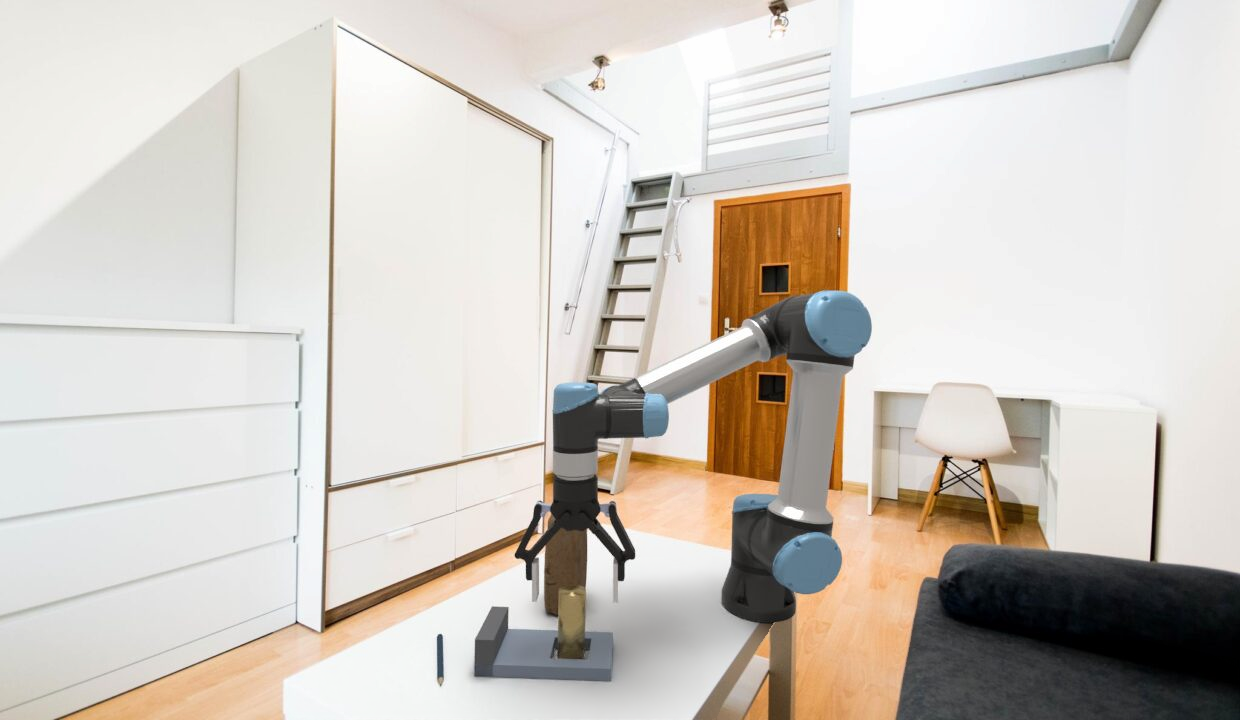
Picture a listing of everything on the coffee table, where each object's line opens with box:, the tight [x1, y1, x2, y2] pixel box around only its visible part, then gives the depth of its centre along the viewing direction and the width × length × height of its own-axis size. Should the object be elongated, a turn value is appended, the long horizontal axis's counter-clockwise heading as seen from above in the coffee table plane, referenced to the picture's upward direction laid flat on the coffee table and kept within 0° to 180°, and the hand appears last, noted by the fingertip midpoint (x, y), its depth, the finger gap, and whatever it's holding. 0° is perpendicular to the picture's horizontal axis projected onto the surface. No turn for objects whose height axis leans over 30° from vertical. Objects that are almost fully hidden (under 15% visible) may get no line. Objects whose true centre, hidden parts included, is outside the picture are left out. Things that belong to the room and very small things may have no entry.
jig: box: [473, 606, 614, 682], centre depth 93 cm, size 22×11×6 cm, turn 89°
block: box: [543, 513, 588, 616], centre depth 112 cm, size 11×8×20 cm
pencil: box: [436, 633, 445, 687], centre depth 92 cm, size 1×1×15 cm
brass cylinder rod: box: [556, 584, 587, 660], centre depth 93 cm, size 5×5×12 cm
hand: (575, 598), depth 93 cm, fingers open, 13 cm apart
